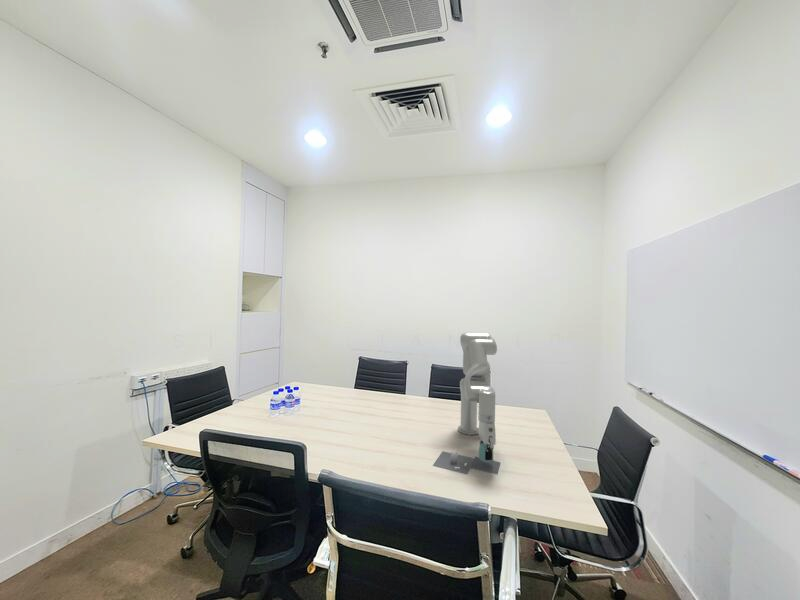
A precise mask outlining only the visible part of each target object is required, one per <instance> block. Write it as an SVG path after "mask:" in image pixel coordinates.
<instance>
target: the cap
mask: <svg viewBox="0 0 800 600" xmlns="http://www.w3.org/2000/svg"><path fill="white" fill-rule="evenodd" d="M487 444H490V443H487ZM488 447H490V445H489V446H488ZM485 451H486V445H485V444H484V443H480V442H479V445H478V457H479V459H480V460H482V461H485V462H491V461H492V460H493V461H494V451H493V452H492V460H485Z"/></svg>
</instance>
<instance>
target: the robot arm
mask: <svg viewBox="0 0 800 600" xmlns="http://www.w3.org/2000/svg"><path fill="white" fill-rule="evenodd" d="M459 339H460V340H459V341H460V346H461V348H462V349H461V350H462V354H463V355H462V372H463V375H465V376H464V377H463V378H461V379H460V381H459V389H460V390H459V391H460V425H458V427H457V431H458V432H459V433H461V434H463V435H469V436H470V435H471V436H474V435H478V437H479V444H480V443H484V444H485V445H486V451H485V460H492V452H493V453H494V449H495V446H496V444H497V443H496V440H497V439H496V425H495V422H496V391H495V390H494V388H493V386H491V365H490V362H489V361H488V357H487V356H495V355H496V354H497V352H498V347H497V343H496V341H495V338H494V337H493V336H492V335H491V334H490V333H487V332H486V333H484V332H482V333H481V332H464V333H461V335H460V338H459ZM477 426H478V427H477ZM487 443H489V444H487ZM489 445H490V447H488V446H489Z"/></svg>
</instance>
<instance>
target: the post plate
mask: <svg viewBox="0 0 800 600" xmlns="http://www.w3.org/2000/svg"><path fill="white" fill-rule="evenodd" d="M474 458H475V457H474ZM474 458H473V457H469V456H465V455H461V454H458V451H455V450H451V451H450V452H447V451H441V452H440V454H439V455H438V457H437V458H436V460H435V461H434V462H433V464H432V467H437V468H440V469H444V470H447V471H451V472H456V473H459V474H463V475H468V474H469V472H470V470H471V468H470V467H471V465H472V463H473V460H474Z"/></svg>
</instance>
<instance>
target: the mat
mask: <svg viewBox="0 0 800 600" xmlns="http://www.w3.org/2000/svg"><path fill="white" fill-rule="evenodd" d="M500 466H501V461H497V460H494V459H493V460H492V461H491V462H485V461H482V460H480V459H479V456H474V460H473V463H472V465H471V467H470V469H472V470H476V471H481V472H484V473H490V474H493V475H497V476H498V475H499V471H500V468H501V467H500Z"/></svg>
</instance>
